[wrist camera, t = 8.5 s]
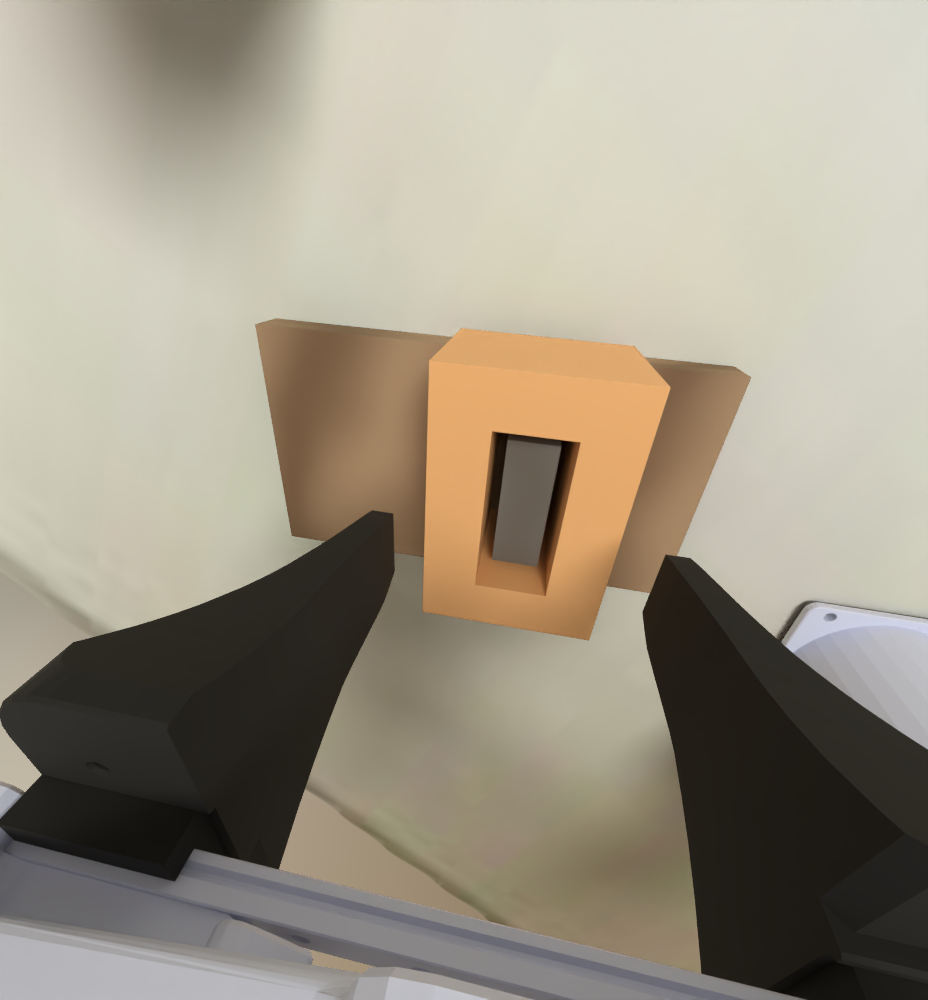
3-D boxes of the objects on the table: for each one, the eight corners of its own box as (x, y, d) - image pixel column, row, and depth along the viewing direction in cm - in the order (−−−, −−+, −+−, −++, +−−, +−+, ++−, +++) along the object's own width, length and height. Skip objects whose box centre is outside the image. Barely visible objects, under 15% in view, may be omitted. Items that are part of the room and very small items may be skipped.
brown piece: (734, 367, 16) (813, 417, 11) (653, 573, 21) (684, 667, 16) (276, 318, 18) (179, 345, 13) (305, 519, 23) (244, 590, 18)
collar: (634, 345, 15) (670, 387, 10) (579, 553, 19) (588, 640, 15) (461, 328, 15) (429, 360, 11) (448, 533, 20) (422, 611, 16)
